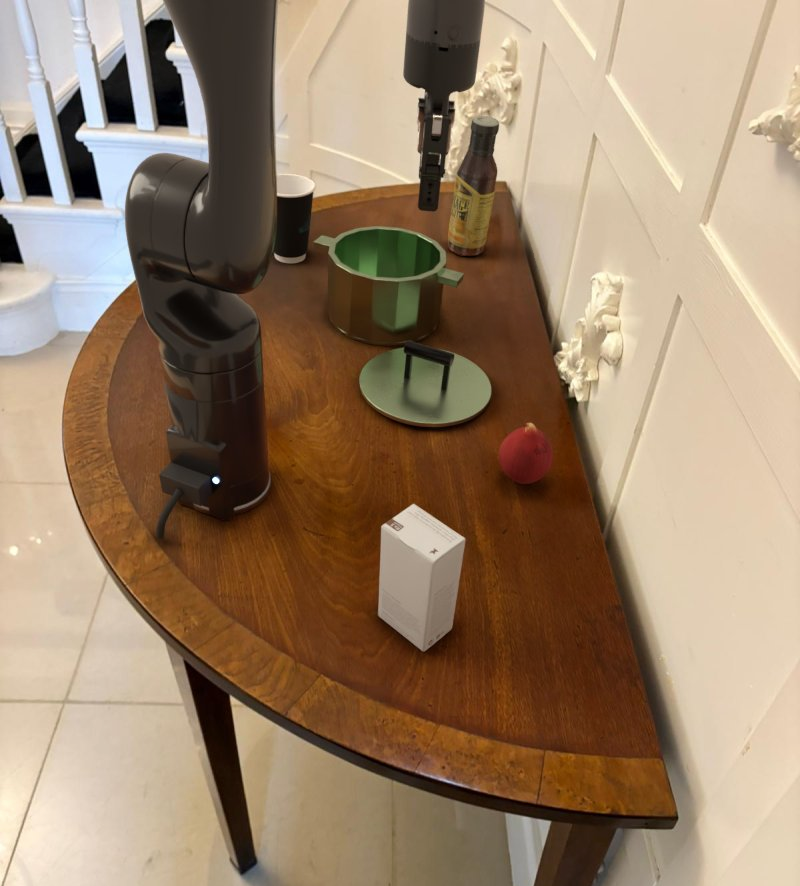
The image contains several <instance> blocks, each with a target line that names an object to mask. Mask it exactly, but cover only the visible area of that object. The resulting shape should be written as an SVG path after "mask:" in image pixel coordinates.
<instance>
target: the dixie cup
mask: <svg viewBox="0 0 800 886" xmlns="http://www.w3.org/2000/svg"><path fill="white" fill-rule="evenodd" d="M316 188H317V186H316V183H315V182H314V181H313V180H312V179H311V178H309V177H306V176H304V175H300V174H294V173H277V227H276V237H275V244H274V250H273V256H274V258H275V260H277V261H278V262H280V263H283V264H298V263H301V262H303V261H305V259H306V256H307V253H308V250H309V240H310V229H311V219H312V210H313V200H314V192H315V190H316Z"/></svg>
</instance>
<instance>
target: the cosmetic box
mask: <svg viewBox="0 0 800 886" xmlns="http://www.w3.org/2000/svg"><path fill="white" fill-rule="evenodd" d="M465 547H466V537H464V536H462V534H460V533H458V532H456V531H455V530H453V528H451V527H449V526H448V525H446V524H444V523H443V522H442V521H440V520H438V519H437V518H436V517H434V516H433V515H432V514H430V513H429V512H427V511H426V510H424V509H423V508H421V507H419V506H418V505H417V504H415V503H412V504H410V505H409V506H408V507H406V508H405V509H403V510H402V511H400V512H399V513H398V514H397V515H395V516H393V517H392V518H390V520H388V521H386V522H385V523H383V524H382V525H381V526H380V555H379V556H380V557H379V579H378V581H379V582H378V606H377V607H378V608H377V616H378V617H379V618H380V619H381V620H383V621H384V622H385V623H386V624H388V625H389V626H390V627H391V628H393V629H394V630H395V631H396V632H398V633H399V634H400V635H401V636H402V637H404V638H405V639H406V640H408V641H409V642H410V643H411V644H413V645H414V646H415V647H416V648H418V649H419V650H420V651H421V652H426V651H427V650H429V648H431V647H432V646H434V645H435V644H436V643H437V642H438V641H439V640H441V639H442V638H443V637H444V636H445V635H446V634H448V633H449V632H450V631H451V630H452V629H453V625H454V618H455V612H456V607H457V605H456V604H457V598H458V592H459V585H460V579H461V573H462V566H463V560H464V552H465Z"/></svg>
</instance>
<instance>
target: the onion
mask: <svg viewBox="0 0 800 886" xmlns="http://www.w3.org/2000/svg"><path fill="white" fill-rule="evenodd" d="M553 450H554V449H553V445H552V443H551V440H550V439H549V438H548V436H546V434H545V433H544V432H543V431H542V430H540V429H539V428H537V427H536V426H535V424H534V423H532V422H526V423H525V426H522V427H518V428H516V429H515V430H513V431H511V432H510V433H509V434H507V436H505V438H504V439H503V441H502V442H501V444H500V446H499V450H498V463H499V465H500V467H501V470H502V472H503V473H504V474H505V475H506V476H507V477H508V478H509V479H510V480H512V481H513V482H515V483H517V484H521V485H527V484H529V485H530V484H533V483H535V482H537V481H540V480H542V478H544V477H545V476H546V475H547V473H548V472H549V471H550V470H551V468H552V466H553V459H554V453H553V452H554V451H553Z"/></svg>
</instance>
